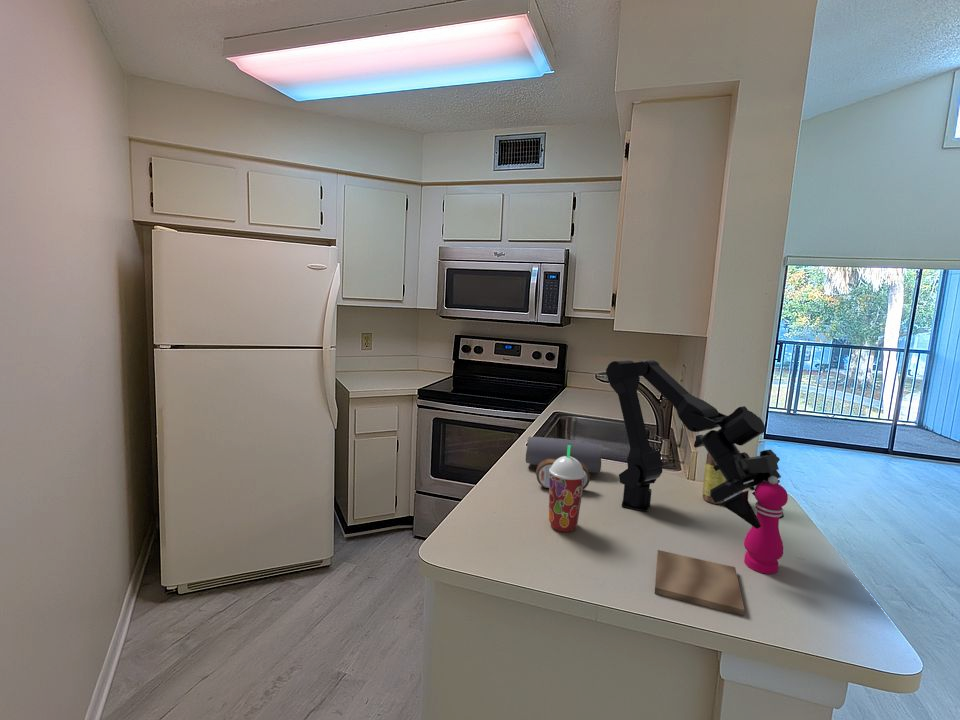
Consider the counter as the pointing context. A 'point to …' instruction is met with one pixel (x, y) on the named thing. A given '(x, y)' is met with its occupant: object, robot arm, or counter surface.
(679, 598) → the walnut board
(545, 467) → the tin
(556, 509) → the smoothie
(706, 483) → the sauce bottle
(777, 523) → the pepper mill
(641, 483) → the robot arm
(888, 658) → the counter surface
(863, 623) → the counter surface
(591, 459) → the bluetooth speaker
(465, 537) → the counter surface
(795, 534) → the counter surface
